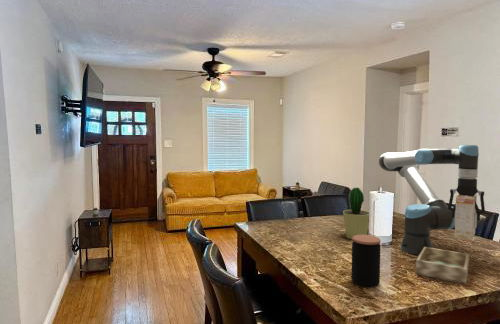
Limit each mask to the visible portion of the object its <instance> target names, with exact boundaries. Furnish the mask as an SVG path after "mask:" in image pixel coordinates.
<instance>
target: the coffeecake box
mask: <svg viewBox="0 0 500 324" xmlns="http://www.w3.org/2000/svg"><path fill="white" fill-rule="evenodd" d="M477 196H478V193H476V194H475V195H474V196H467V195H459V194H457V196H455V204H456V214H455V227H454V239H459V240H466V241H472V240H473V238H474V237H475V234H476V228H474V225H475V213H477V212H476V210H475V201H476V202H477V198H478V197H477Z"/></svg>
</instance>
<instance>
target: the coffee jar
mask: <svg viewBox="0 0 500 324" xmlns="http://www.w3.org/2000/svg"><path fill="white" fill-rule="evenodd" d="M351 240H352V243H351V277H350V278H351V280H352V282H353V284H355V285H357V286H358V287H361V288H366V289H367V288H369V289H370V288H372V289H373V288H376V287H377V286H379V284H380V283H381V282H380V281H381V278H380V277H381V248H382V246H381V244H380V243H381V238H379V237H377V236H375V235H371V234H370V235H369V234H367V235H355V236H353V237H352V239H351Z"/></svg>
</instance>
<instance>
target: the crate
mask: <svg viewBox="0 0 500 324" xmlns="http://www.w3.org/2000/svg"><path fill="white" fill-rule="evenodd" d="M417 256H418V257H416V258H417V259H416V261H415V263H416V264H415V274H416V275H419V276H422V277H428V278H434V279H439V280H441V281H442V280H443V281H448V282H452V283H458V284H463V285H467V281H468V275H469V267H470V253H465V252H459V251H455V250H454V251H452V250H447V249H440V248H435V247H433V248H429V247H424V248H423V250H422V251H421V253H420V255H417Z"/></svg>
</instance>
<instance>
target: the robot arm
mask: <svg viewBox="0 0 500 324" xmlns="http://www.w3.org/2000/svg"><path fill="white" fill-rule="evenodd" d="M479 155H480V154H479V146H478V145H476V144H474V145H473V144H461V145H459V148H451V147H449V148H448V147H447V148H419V149H417V150H411V151H404V152H402V151H401V152H400V151H397V152H396V151H395V152H394V151H392V152H390V151H389V152H385V153H383V154H381V155H380V156H379V159H378V165H379V166H380V168H381V170H384V171H386V172H397V173H398V174H399V176H400V177H402V178H404V179H405V180H406V182H407V183H408V184H409V186H410V188H411V190H412V192H414V195H416V197H417V199H418V200H419V202H420V203H415V204H410V205H407V206H406V207H405V210H404V234H403V237H402V240H401V242H400V251H402V252H404V253H408V254H412V255H417V256H419V255H420V253H421V251H422V250H423V248H424V247H429V248H434V246H433V244H432V243H433V242H432V241H431V237H430V236H431V230H432V231H433V230H436V231H437V230H449V229H453V228H454V229H455V214H456V203H455V204H454V206H452V205H453V200H454V196H455V194H456V193H458V195H467V196H474V195H475V194H477V195H478V196H479V199H480V206H481V207H480V208H481V210H480V208H479V206H478V204H477V203H478V202H477V200H476V201H475V210H476V213H475V225H474V228H475V229H477V225H478V223H477V222H480V220H481V215H483V214H485V213H486V209H485V200H484V199H485V198H484V196H485V191H482V190H478V179H477V178H478V173H479V172H478V171H479V170H478V169H479V168H478V167H479V165H478V164H479ZM420 165H421V166H424V165H458V168H457V169H458V175H457V176H458V178H457V186H456V187H457V188H454V189H453V188H451V189H450V190H449V194H450V196H449V199H448V200H449V201H448V205H447V203H446V202H445V200H444V199H440V198H439V197H438V196H437V195H436V193H435V192H434V190H433V189H432V187H431V186H430V184H429V183H428V182H427V180H426V179H425V177H424V176H423V175H422V173H421V172H420V170H419V168H420Z"/></svg>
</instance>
